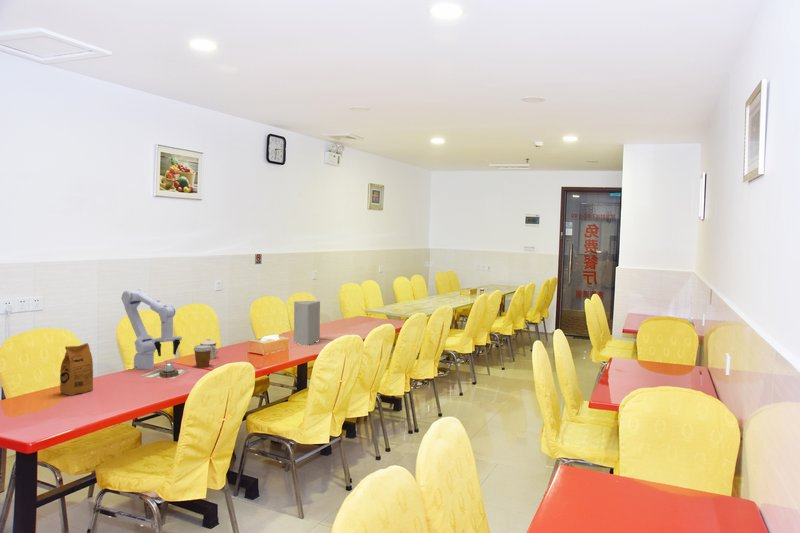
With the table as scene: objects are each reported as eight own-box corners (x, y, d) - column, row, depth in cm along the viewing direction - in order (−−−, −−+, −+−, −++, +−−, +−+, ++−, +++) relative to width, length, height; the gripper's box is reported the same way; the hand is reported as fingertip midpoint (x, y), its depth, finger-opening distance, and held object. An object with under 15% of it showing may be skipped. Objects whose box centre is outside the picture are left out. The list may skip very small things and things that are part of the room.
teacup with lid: (196, 358, 341) (196, 338, 340) (208, 355, 349) (208, 336, 349) (212, 360, 336) (212, 340, 335) (223, 357, 344) (223, 338, 343)
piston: (162, 376, 294) (162, 364, 294) (167, 374, 299) (167, 362, 298) (170, 376, 294) (170, 365, 293) (175, 374, 298) (175, 363, 298)
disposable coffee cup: (214, 366, 322) (214, 345, 322) (207, 370, 313) (207, 348, 312) (198, 365, 323) (198, 344, 322) (190, 369, 314) (190, 347, 313)
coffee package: (57, 393, 264) (56, 345, 263) (83, 387, 274) (83, 341, 273) (69, 396, 259) (68, 348, 257) (96, 390, 269) (95, 344, 268)
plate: (139, 378, 293) (139, 376, 293) (158, 370, 310) (158, 368, 310) (173, 380, 290) (173, 378, 290) (190, 372, 308) (190, 370, 308)
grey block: (300, 339, 407) (301, 300, 406) (319, 341, 403) (320, 301, 402) (287, 344, 389) (288, 303, 388) (307, 346, 385) (308, 304, 383)
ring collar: (156, 377, 292) (155, 373, 292) (165, 373, 301) (165, 369, 301) (172, 378, 291) (172, 374, 291) (181, 373, 300) (181, 370, 300)
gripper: (154, 331, 297) (154, 358, 297) (183, 329, 306) (183, 354, 306) (150, 329, 302) (151, 355, 303) (179, 327, 311) (179, 352, 312)
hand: (167, 355), depth 305 cm, fingers open, 7 cm apart
